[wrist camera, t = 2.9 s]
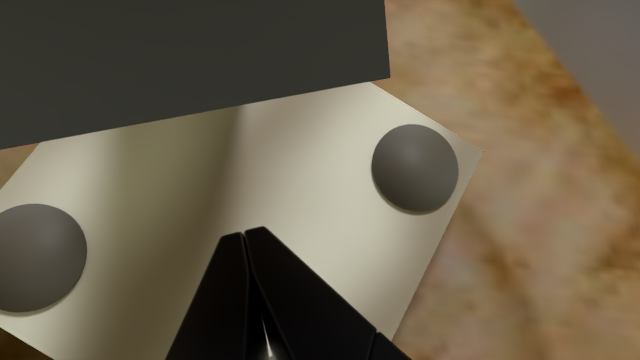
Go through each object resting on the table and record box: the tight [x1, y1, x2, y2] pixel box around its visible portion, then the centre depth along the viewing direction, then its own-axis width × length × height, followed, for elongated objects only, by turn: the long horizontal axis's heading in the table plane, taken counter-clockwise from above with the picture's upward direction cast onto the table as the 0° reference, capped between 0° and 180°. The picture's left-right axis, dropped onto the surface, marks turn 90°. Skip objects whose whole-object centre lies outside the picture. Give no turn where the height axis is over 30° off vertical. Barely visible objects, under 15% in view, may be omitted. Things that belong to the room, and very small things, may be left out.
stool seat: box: [0, 82, 484, 360], centre depth 15 cm, size 13×13×3 cm
